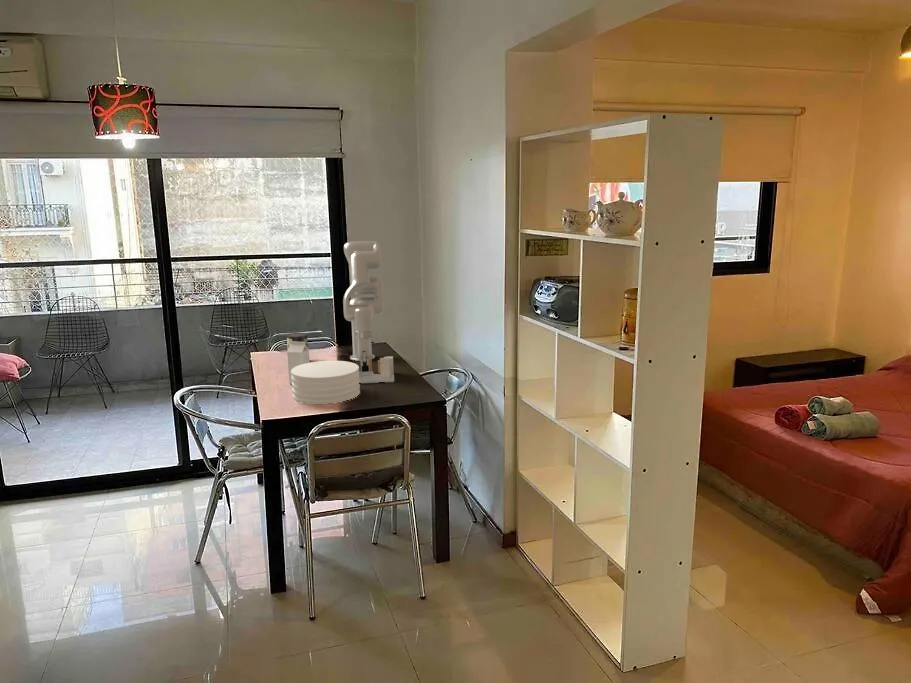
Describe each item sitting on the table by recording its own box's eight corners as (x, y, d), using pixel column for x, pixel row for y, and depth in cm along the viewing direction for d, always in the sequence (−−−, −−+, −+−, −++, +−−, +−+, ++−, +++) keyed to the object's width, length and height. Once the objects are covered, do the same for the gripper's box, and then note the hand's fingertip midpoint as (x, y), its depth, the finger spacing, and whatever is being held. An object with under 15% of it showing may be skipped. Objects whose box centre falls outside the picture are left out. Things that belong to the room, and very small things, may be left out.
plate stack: (347, 382, 307) (346, 357, 304) (369, 398, 282) (368, 371, 280) (285, 391, 294) (283, 365, 292) (302, 409, 270) (300, 381, 268)
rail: (341, 379, 311) (339, 358, 308) (393, 377, 313) (393, 356, 311) (340, 384, 303) (339, 362, 301) (394, 382, 306) (393, 360, 304)
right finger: (361, 374, 320) (360, 357, 318) (372, 373, 321) (371, 357, 319) (361, 376, 316) (360, 359, 314) (372, 375, 317) (371, 359, 315)
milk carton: (304, 385, 302) (301, 343, 298) (289, 384, 304) (286, 343, 300) (310, 381, 309) (308, 340, 305) (296, 380, 310) (293, 339, 306)
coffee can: (312, 360, 348) (311, 333, 345) (302, 365, 338) (300, 337, 335) (295, 358, 351) (293, 332, 348) (284, 363, 342) (282, 336, 338)
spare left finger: (382, 373, 321) (382, 356, 319) (393, 372, 322) (392, 356, 320) (382, 375, 317) (382, 358, 315) (393, 375, 318) (393, 358, 316)
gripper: (356, 330, 322) (357, 368, 326) (355, 338, 306) (356, 377, 309) (372, 330, 323) (373, 367, 327) (371, 337, 306) (373, 377, 310)
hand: (365, 372), depth 318 cm, fingers closed on right finger, 4 cm apart
